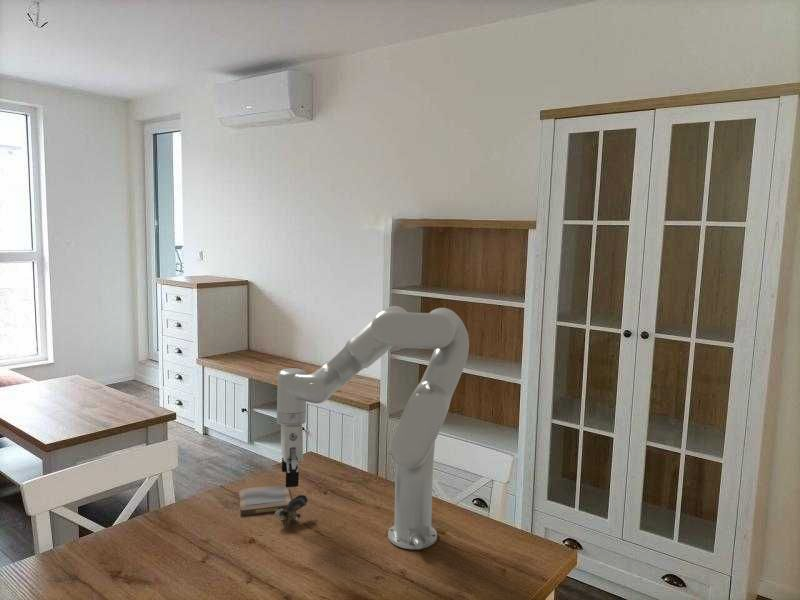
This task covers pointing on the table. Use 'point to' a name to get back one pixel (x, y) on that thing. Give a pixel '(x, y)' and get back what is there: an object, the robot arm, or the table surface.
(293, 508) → the eagle figurine
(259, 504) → the wooden picture frame
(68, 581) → the table surface
